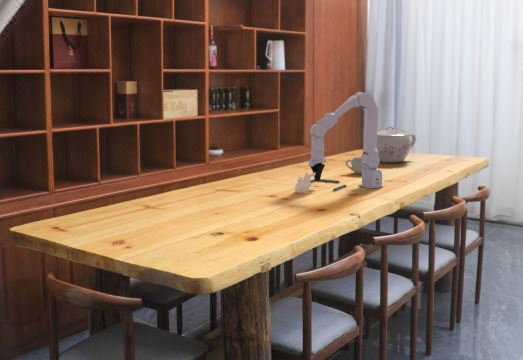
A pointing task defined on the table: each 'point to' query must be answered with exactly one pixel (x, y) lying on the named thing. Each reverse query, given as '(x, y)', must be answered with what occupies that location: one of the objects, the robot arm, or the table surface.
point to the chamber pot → (393, 145)
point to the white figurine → (303, 184)
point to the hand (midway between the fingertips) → (317, 179)
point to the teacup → (355, 165)
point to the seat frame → (330, 181)
